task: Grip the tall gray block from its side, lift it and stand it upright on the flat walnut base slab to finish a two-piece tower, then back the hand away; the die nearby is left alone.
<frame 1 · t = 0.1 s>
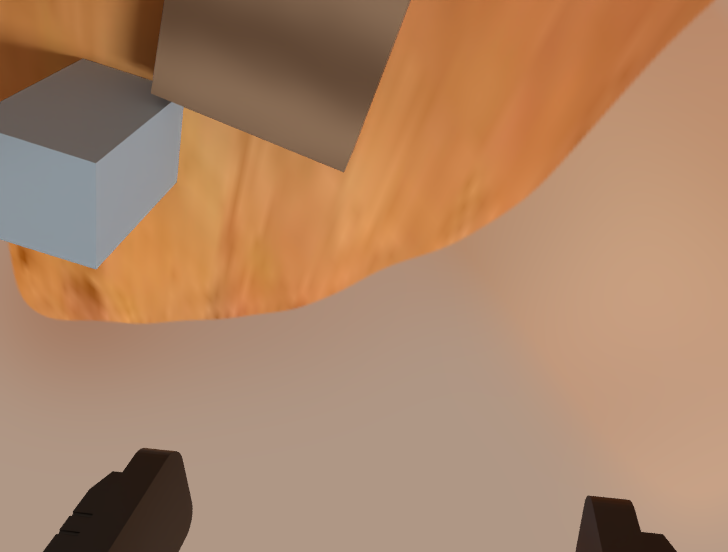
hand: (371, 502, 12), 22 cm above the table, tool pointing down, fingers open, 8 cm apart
walnut base: (291, 18, 29), on the table
gray block: (132, 123, 33), on the table
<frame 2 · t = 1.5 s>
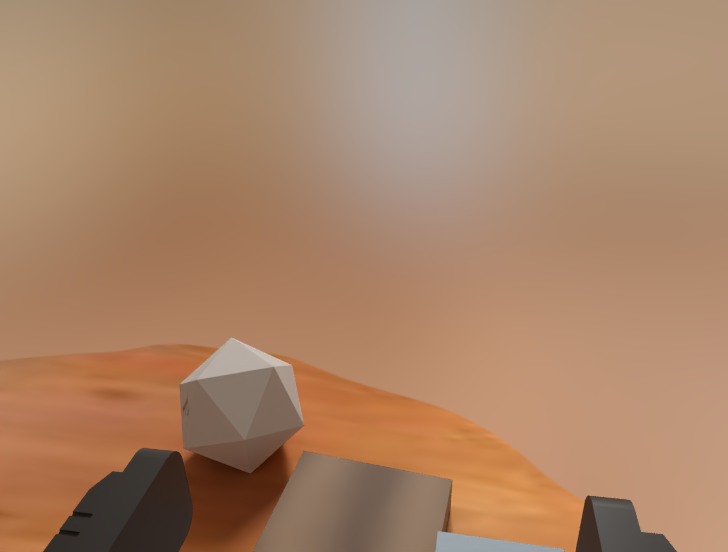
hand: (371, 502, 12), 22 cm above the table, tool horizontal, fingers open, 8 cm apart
die: (247, 446, 45), on the table
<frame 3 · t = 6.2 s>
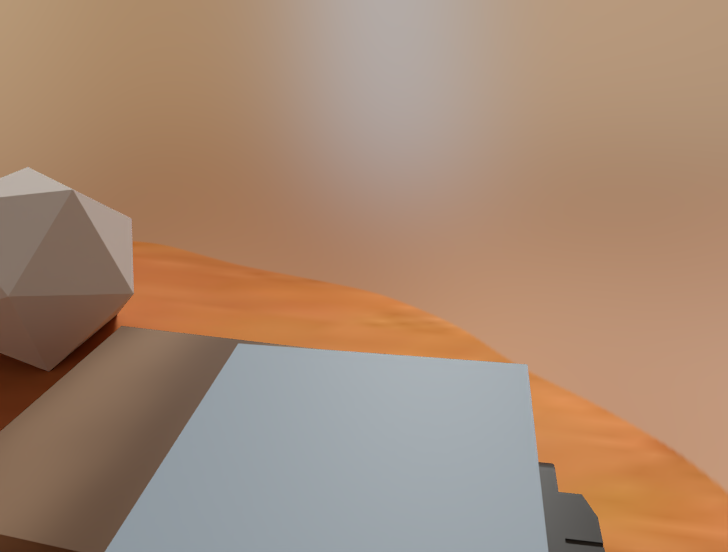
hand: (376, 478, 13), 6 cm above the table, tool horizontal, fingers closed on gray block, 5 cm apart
die: (60, 341, 30), on the table
walnut base: (180, 488, 21), on the table
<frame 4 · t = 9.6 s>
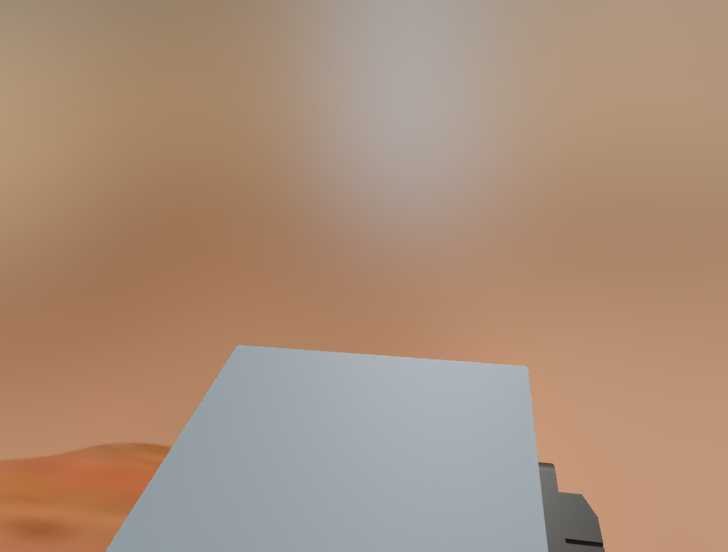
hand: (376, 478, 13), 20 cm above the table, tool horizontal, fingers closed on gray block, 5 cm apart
when the fingers open (10 cm above the table, at t = 13.0 s): gray block drops 1 cm, point 2 cm above the table.
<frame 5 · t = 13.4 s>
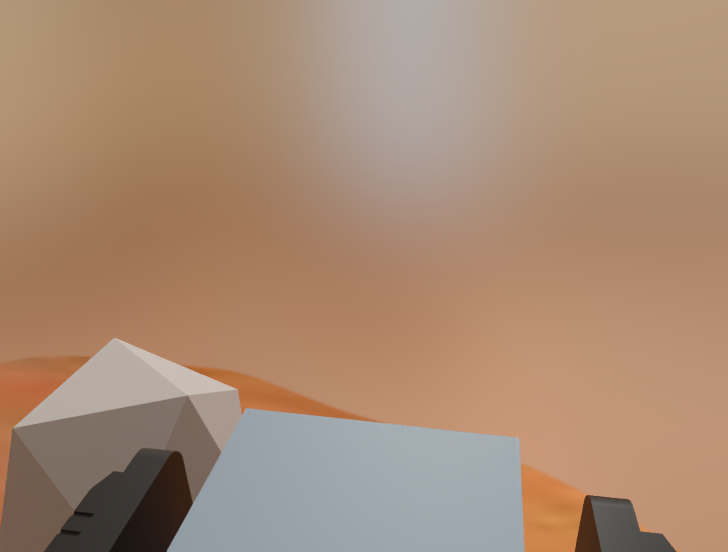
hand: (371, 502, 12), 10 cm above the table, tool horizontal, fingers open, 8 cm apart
die: (151, 548, 24), on the table
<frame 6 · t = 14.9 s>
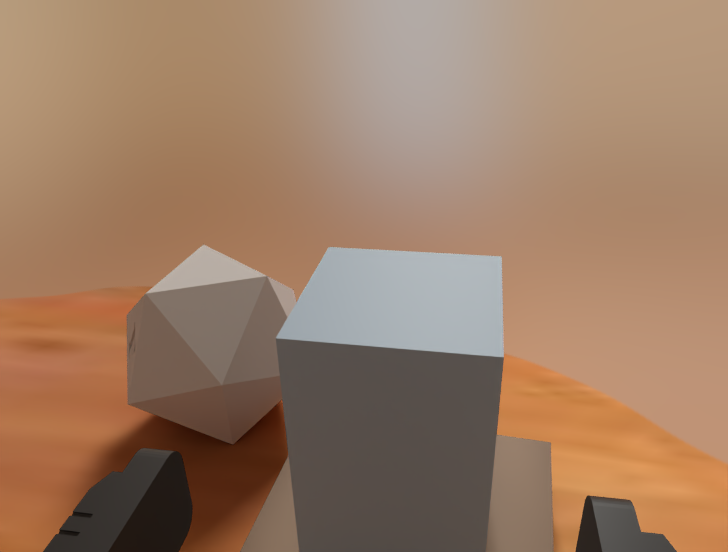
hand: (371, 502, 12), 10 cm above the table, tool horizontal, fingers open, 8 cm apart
die: (228, 409, 31), on the table
gray block: (401, 521, 21), point 2 cm above the table, touching walnut base
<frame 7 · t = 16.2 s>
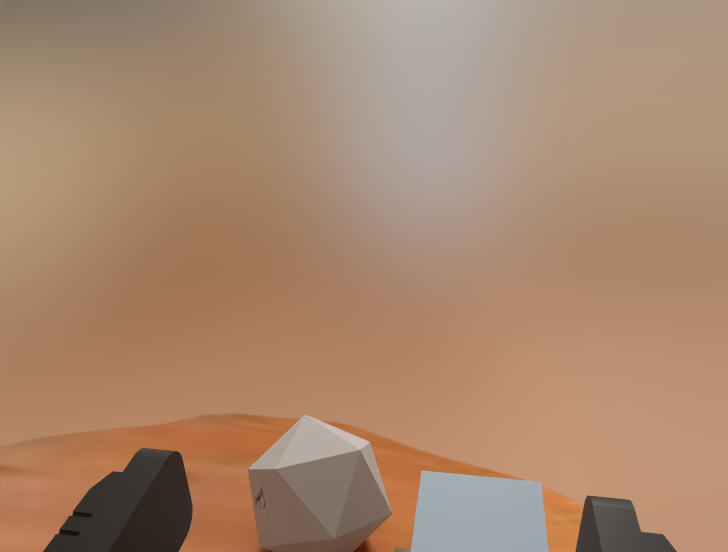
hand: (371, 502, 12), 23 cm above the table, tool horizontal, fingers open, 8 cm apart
die: (323, 537, 40), on the table
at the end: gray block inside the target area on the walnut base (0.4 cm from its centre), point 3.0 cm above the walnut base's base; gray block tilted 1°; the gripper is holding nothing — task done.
